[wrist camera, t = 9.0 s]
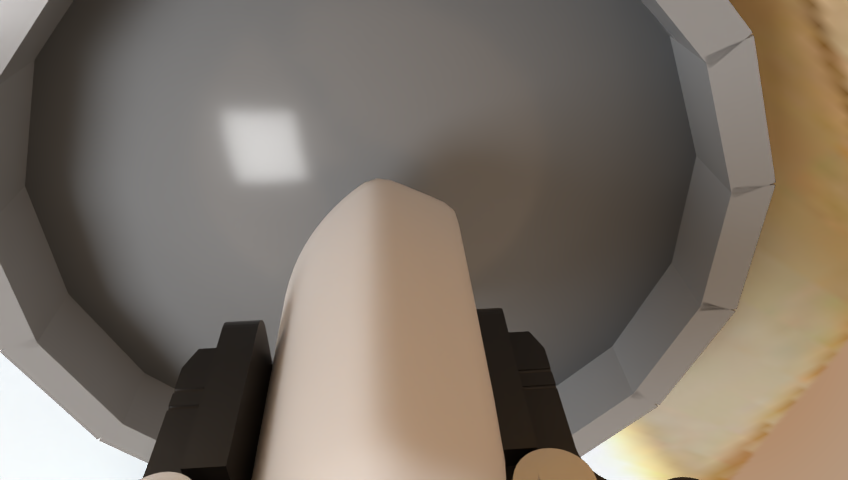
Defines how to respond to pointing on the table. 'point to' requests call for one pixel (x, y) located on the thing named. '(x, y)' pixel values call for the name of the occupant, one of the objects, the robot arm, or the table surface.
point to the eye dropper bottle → (381, 351)
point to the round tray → (367, 160)
